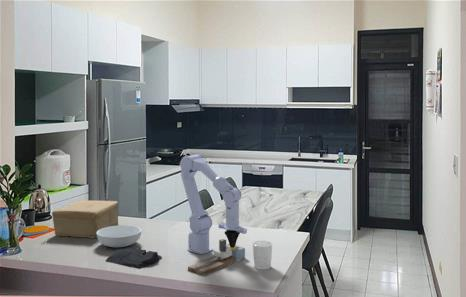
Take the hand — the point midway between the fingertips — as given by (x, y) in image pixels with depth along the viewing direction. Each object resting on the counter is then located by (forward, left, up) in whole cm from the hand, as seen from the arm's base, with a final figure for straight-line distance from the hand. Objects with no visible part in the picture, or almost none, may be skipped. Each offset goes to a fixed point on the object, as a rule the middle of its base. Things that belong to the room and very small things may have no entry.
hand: (232, 246), depth 206 cm
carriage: (0, -6, -3) cm, 7 cm away
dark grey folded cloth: (-32, -29, -6) cm, 43 cm away
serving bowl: (-54, -20, -5) cm, 58 cm away
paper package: (-87, -16, -5) cm, 89 cm away
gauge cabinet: (0, 0, -5) cm, 5 cm away
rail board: (0, -13, -5) cm, 14 cm away
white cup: (+17, -1, -5) cm, 18 cm away
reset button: (0, 0, -4) cm, 4 cm away
